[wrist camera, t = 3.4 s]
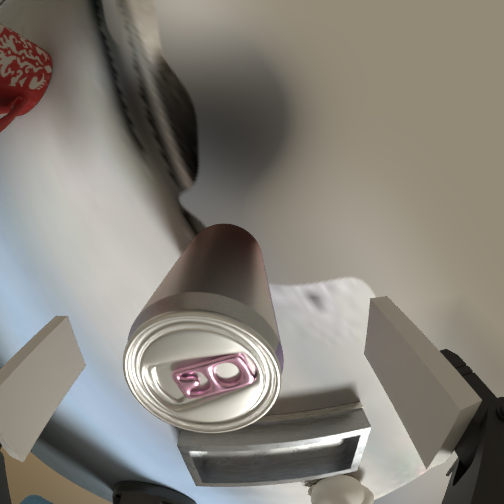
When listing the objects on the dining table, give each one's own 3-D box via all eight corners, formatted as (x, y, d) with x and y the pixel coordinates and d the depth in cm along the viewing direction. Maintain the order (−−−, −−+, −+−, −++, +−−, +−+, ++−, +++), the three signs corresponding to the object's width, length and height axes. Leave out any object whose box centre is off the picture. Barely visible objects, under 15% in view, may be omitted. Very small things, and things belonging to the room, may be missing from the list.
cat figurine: (321, 523, 23) (363, 542, 25) (364, 480, 26) (397, 507, 28) (285, 491, 32) (330, 518, 34) (323, 455, 35) (361, 487, 37)
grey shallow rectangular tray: (199, 463, 31) (196, 486, 27) (182, 418, 28) (176, 444, 24) (349, 449, 31) (356, 471, 27) (360, 401, 28) (371, 425, 25)
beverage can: (272, 278, 24) (307, 414, 10) (206, 302, 25) (169, 445, 10) (246, 210, 23) (249, 279, 8) (176, 238, 23) (87, 335, 9)
